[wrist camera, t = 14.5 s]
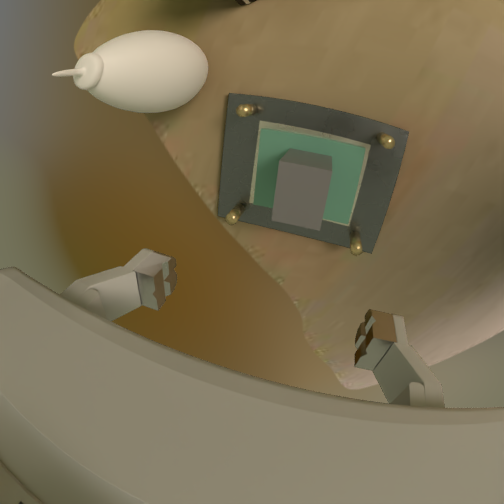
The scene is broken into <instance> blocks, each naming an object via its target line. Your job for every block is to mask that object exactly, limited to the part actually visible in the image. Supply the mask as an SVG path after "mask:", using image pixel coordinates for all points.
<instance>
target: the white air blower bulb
mask: <svg viewBox="0 0 504 504" xmlns="http://www.w3.org/2000/svg"><path fill="white" fill-rule="evenodd" d="M207 75H208V61H207V59H206V56H205V54H204V53H203V51H202V50H201V49H200V48H199V47H198V46H197V45H196V44H195V43H194V42H192V41H191V40H189V39H187V38H185V37H183V36H181V35H178V34H175V33H171V32H167V31H160V30H144V31H137V32H132V33H128V34H124V35H121V36H118V37H116V38H114V39H111V40H110V41H108V42H106V43H104V44H102V45H101V46H99V47H98V48H97V49H95V50H94V51H93V52H92V53H88V54H85V55H83V56H82V57H81V58H80V59H79V60H78V62H77V64H76V66H75V69H70V70H63V71H58V72H55V73H53V74H52V76H73V78H74V82H75V84H76V86H77V87H79V88H80V89H83V90H88V92H89V93H90V94H92V95H93V96H94V97H96V98H97V99H99V100H100V101H102V102H104V103H106V104H108V105H111V106H113V107H116V108H119V109H123V110H127V111H132V112H138V113H159V112H164V111H168V110H173V109H176V108H178V107H180V106H182V105H184V104H186V103H187V102H189V101H190V100H191V99H192V98H194V97H195V96H196V94H197V93H198V92H199V91H200V90H201V88H202V87H203V85H204V83H205V81H206V78H207Z"/></svg>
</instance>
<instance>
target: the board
mask: <svg viewBox="0 0 504 504" xmlns="http://www.w3.org/2000/svg"><path fill="white" fill-rule="evenodd" d="M365 149H366V148H365V147H363V146H359V145H355V144H350V143H346V142H342V141H337V140H332V139H328V138H323V137H318V136H312V135H307V134H301V133H295V132H289V131H283V130H276V129H269V128H261V132H260V142H259V152H258V162H257V172H256V182H255V192H254V202H253V205H258V206H264V207H269V208H273V212H272V220H271V221H276V222H281V223H286V224H290V225H295V226H300V227H304V228H309V229H314V230H318V231H320V228H321V223H322V219H326V220H331V221H335V222H340V223H344V224H348V223H349V219H350V215H351V211H352V207H353V203H354V199H355V195H356V191H357V187H358V182H359V178H360V173H361V169H362V164H363V159H364V154H365Z"/></svg>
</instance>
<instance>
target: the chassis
mask: <svg viewBox="0 0 504 504" xmlns="http://www.w3.org/2000/svg"><path fill="white" fill-rule="evenodd" d="M261 128H269V129H276V130H283V131H289V132H295V133H301V134H307V135H312V136H318V137H323V138H328V139H332V140H337V141H342V142H346V143H350V144H355V145H359V146H363V147H365V148H366V149H365V154H364V159H363V164H362V169H361V173H360V178H359V182H358V187H357V191H356V195H355V199H354V203H353V207H352V211H351V215H350V219H349V223H348V224H344V223H340V222H335V221H331V220H326V219H322V223H321V228H320V231H318V230H314V229H309V228H304V227H300V226H295V225H290V224H286V223H281V222H276V221H271V220H272V212H273V208H269V207H264V206H258V205H253V202H254V192H255V182H256V172H257V162H258V152H259V142H260V132H261ZM408 134H409V132H408V131H406V130H403V129H400V128H397V127H394V126H391V125H388V124H385V123H382V122H378V121H375V120H372V119H368V118H365V117H361V116H358V115H354V114H350V113H346V112H342V111H338V110H334V109H330V108H325V107H321V106H316V105H311V104H306V103H301V102H295V101H289V100H283V99H277V98H270V97H262V96H254V95H245V94H234V93H229V99H228V108H227V117H226V127H225V137H224V147H223V158H222V169H221V181H220V194H219V207H218V216H220V217H225V220H226V222H227V223H228V224H230V225H234V224H235V223H236V222H237V221H242V222H246V223H251V224H255V225H259V226H264V227H268V228H272V229H276V230H280V231H285V232H289V233H293V234H297V235H301V236H305V237H309V238H313V239H317V240H321V241H325V242H329V243H333V244H337V245H341V246H344V247H348V248H351V253H352V254H353V255H355V256H357V255H360V254H361V253H362V251H364V252H367V253H371V254H372V251H373V248H374V246H375V243H376V240H377V238H378V235H379V232H380V229H381V226H382V224H383V221H384V218H385V215H386V212H387V209H388V206H389V203H390V200H391V196H392V193H393V190H394V187H395V183H396V180H397V176H398V173H399V169H400V166H401V162H402V158H403V154H404V151H405V147H406V142H407V138H408Z"/></svg>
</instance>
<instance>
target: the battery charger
mask: <svg viewBox="0 0 504 504" xmlns="http://www.w3.org/2000/svg"><path fill="white" fill-rule="evenodd" d="M236 1H237V2H238V3H239V4H240V5H244V4H249V3H251V2H253V1H256V0H236Z"/></svg>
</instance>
